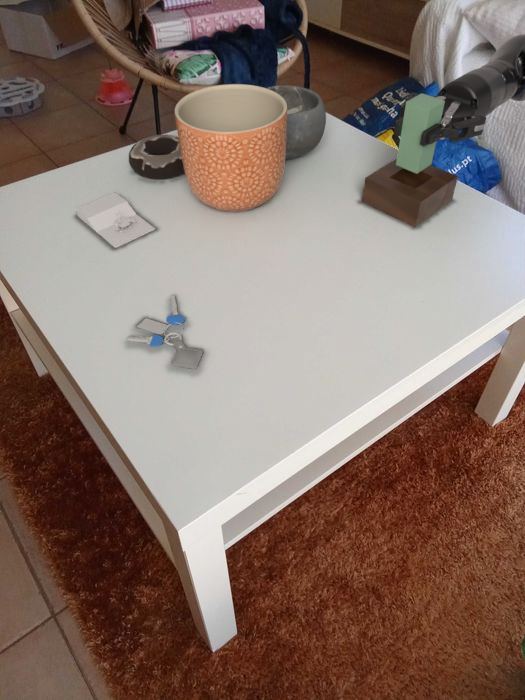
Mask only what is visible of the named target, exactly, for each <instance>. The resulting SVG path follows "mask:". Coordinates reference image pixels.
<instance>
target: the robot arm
mask: <svg viewBox="0 0 525 700" xmlns="http://www.w3.org/2000/svg"><path fill="white" fill-rule="evenodd" d="M418 95H419V94H418V93H416V92H410V94H409V95H408V96H407V98H406V99H405V101H404V102H402V105H401V106H400V114H399V118H398V119H396V120H395V122H394V128H393V131H394V132H393V135H394V136H396V137H401V131H402V125H403V118H404V112H405V106H406V102H407V101H409V100H410V99H412V98H414V97H416V96H418ZM432 97H435V98H438V99H441V100H444V101H445V103H444V108H443V113H442V117H441V121H440V124H438V123H436V124H434V125H433V126H431V127H429V128H428V129H426V130H424V131H423V132H422V135H421V140H420V145H422V146H426V145H428V144H433V143H434V142H436V143H437V142H438V141H444V140H445V139H446V138H447V139H448V141H449V142H451V143H458V142H461V141H464V140H468V139H471V138H475V137H478V136H481V135H483V132H484V129H485V126H486V121H487V116H489V115H490V114H491V113H492V112H494V111H495V110H496V109H497V108H498V107H500V106H501V105H503V104H504V103H507V101H509V100H512V101H516V102H524V101H525V33H524V34H523V33H521V34H517V35H514V36H512V37H511V38H509V39H507V40H506V41H505V42H503V43H502V44H501V45H500V46H499V47H498V48H497V50H496V51H495V52H494V53H493V54H492V56H491V58H490V59H489V61H488V62H487V63H485V64H484V65H482V66H480V67H478V68H476V69H475V68H474V69H473V70H470V71H467V72H466V73H464V74H463V75H461V76H460V77H456V78H455V79H453V80H451V81H450V82H448V83H447V84H445V85H444V86H443V87H442V88H441V89H440V90H439V91H438V93H437V94H436V95H433V96H432ZM460 131H461V132H460Z"/></svg>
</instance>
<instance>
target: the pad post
mask: <svg viewBox="0 0 525 700" xmlns="http://www.w3.org/2000/svg"><path fill="white" fill-rule="evenodd" d="M444 103H445V101H444V100H441V99H438V98H435V97H433V96H432V95H428V94H425V93H419V94H418V96H416V97H414V98H412V99H410V100H409V101H407V102H406V106H405V112H404V118H403V125H402V131H401V136H399V144H398V150H397V154H396V158H397V161H396V165H397V166H399V167H402V168H404V169H407V170H409V171H411V172H414V173H416V174H417V173H419V172H420V171H422V170H424V169H425V168H427V167H428V166H430V165H432V163H433V160H434V155H435V150H436V144H437V141H436V142H434V143H433V144H428V145H426V146H422V145H420V140H421V135H422V132H423V131H424V130H426V129H428V128H429V127H431V126H433V125H434V124H436V123H438V124H440V121H441V117H442V113H443V108H444Z"/></svg>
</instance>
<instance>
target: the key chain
mask: <svg viewBox="0 0 525 700" xmlns="http://www.w3.org/2000/svg"><path fill="white" fill-rule="evenodd" d="M170 296H171V301H170V303H171V310H172V314H170V315H167V317H166V319H165V320H166V323H167V324H166V323H163V322H159V321H157V320H153V319H150V318H147V317H145V319H143V320H142V321H141V322H140V323H139V324H138V325H136V328H138V329H142V330H144V331H146V332H151V333H154V334H152V335H151V336H142V335H139V336H138V335H136V336H133V335H130V336H127V338H126V340H127V342H137V343H146V344H148V346H149V347H159V346H161V345H162V344H163V343H165V344H166V345H168V346H171V347H172V346H173V347H174V348H175V350H176V352H175V355H174V357H173V359H172V361H171V366H173V367H180V368H186V369H190V370H196V369H197V368H198V366H199V363H200V361H201V359H202V357H203V354H204V350H203V349H201V348H194V347H188V346H186V345H185V344H184V342H183V341H182V340H183V336H182V333H183V332H184V325H183V324H184V322H185V320H186V318H185V316H184V315H182V314H178V309H177V307H178V306H177V302H176V297H175V295H174V294H173V295H172V294H171V295H170ZM171 325H173V326H174V325H175V326H177V325H178V326H179V325H180V326H181V328H182V329H181V332H180V333H178V332H174V331H173V332H169V333H167V334H166V331H167V330H168V329H169V327H170V326H171ZM162 334H163V335H164V338H163V336H161V335H162ZM171 336H172V337H171ZM177 337H178V339H176V340H174V341H171V342H169V341H170V339H175V338H177Z"/></svg>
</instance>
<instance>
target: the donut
mask: <svg viewBox="0 0 525 700" xmlns="http://www.w3.org/2000/svg"><path fill="white" fill-rule="evenodd" d="M128 163H129V166H130V167H131V169H132V170H133V171H134V173H136V174H137V175H139V176H140V177H143V178H147V179H152V180H165V179H166V180H167V179H172V178H175V177H177V176H180V175H182V174H185V172H184V167H183V162H182V157H181V151H180V144H179V138H178V135H177V136H176V135H173V134H156V135H151V136H147V137H144V138H143V139H140V140H138V141H137V142H136V143H134V144H133V145H132V147H131V149H130V150H129V152H128Z"/></svg>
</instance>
